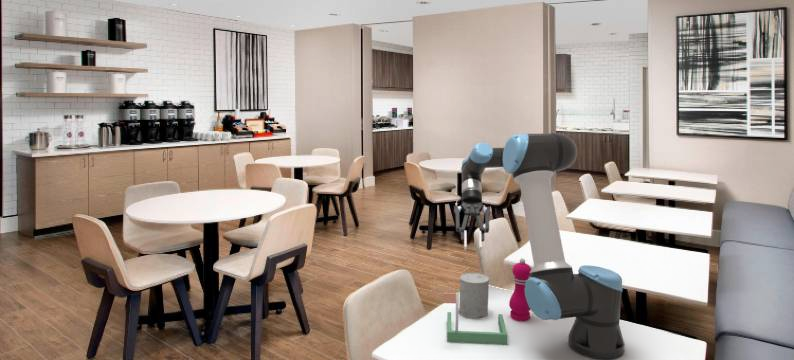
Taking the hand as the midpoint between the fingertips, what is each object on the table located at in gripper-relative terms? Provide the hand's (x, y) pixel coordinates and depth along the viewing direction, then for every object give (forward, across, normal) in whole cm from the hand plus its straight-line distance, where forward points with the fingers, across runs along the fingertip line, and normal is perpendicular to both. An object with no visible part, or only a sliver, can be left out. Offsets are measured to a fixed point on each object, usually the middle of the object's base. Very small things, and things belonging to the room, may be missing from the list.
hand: (472, 248), depth 181 cm
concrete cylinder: (+22, 0, -4) cm, 23 cm away
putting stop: (+32, +1, +6) cm, 33 cm away
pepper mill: (+24, -15, -2) cm, 28 cm away
